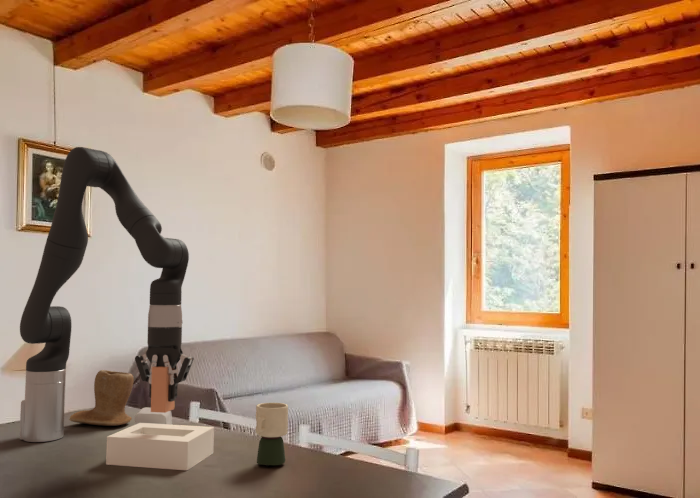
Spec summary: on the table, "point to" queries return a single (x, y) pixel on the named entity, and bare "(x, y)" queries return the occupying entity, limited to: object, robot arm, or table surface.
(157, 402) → the orange block
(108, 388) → the brown boot-shaped piece
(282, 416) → the character mug
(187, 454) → the well block
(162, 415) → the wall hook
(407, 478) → the table surface
